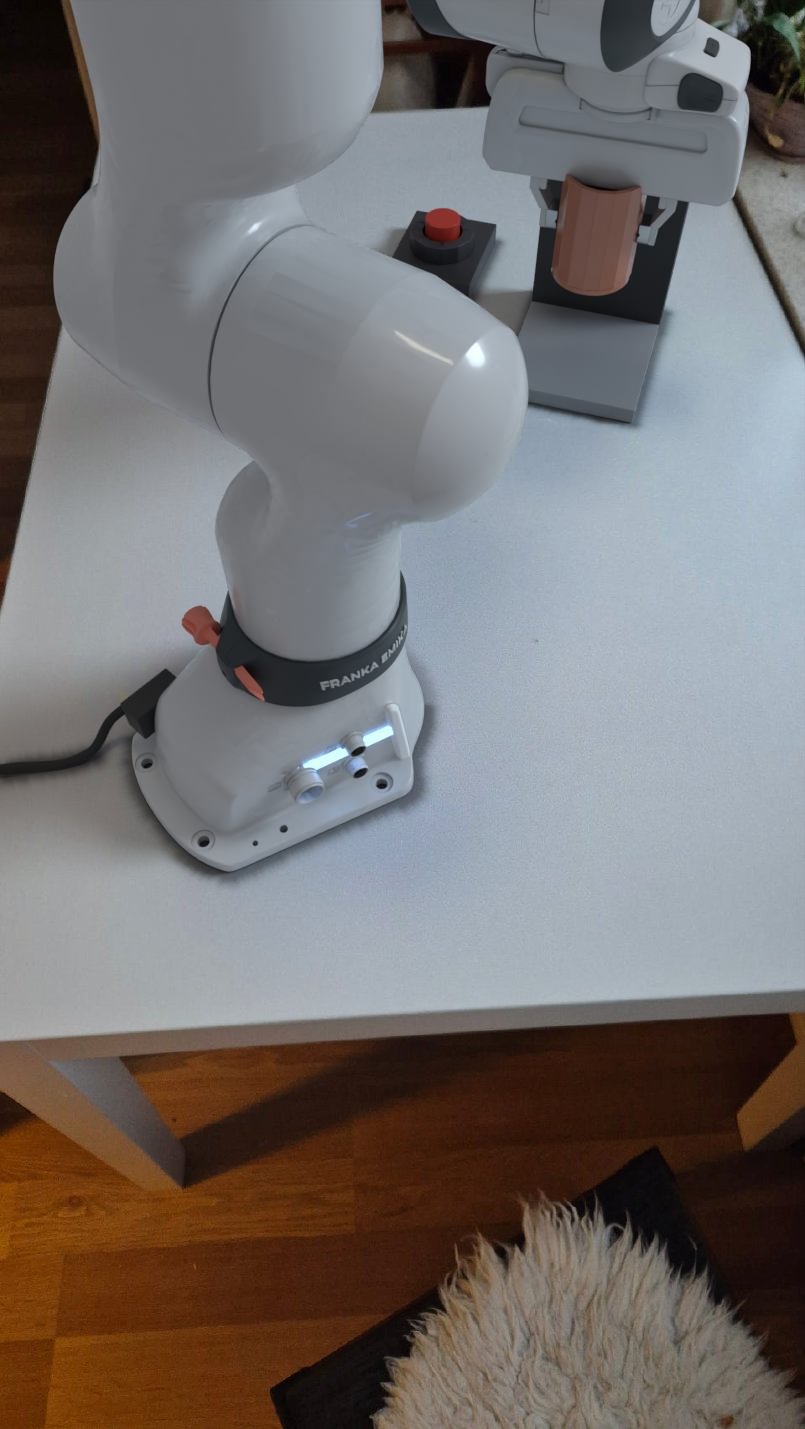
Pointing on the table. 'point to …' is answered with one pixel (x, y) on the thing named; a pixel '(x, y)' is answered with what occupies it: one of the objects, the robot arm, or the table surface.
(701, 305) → the table surface
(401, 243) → the control block
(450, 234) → the button
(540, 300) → the coffee maker
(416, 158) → the table surface
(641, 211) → the cup
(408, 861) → the table surface
